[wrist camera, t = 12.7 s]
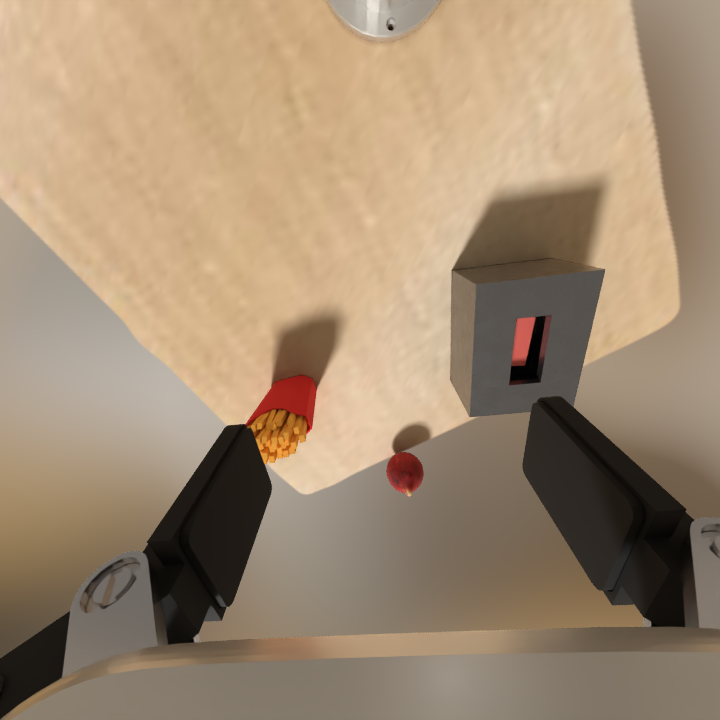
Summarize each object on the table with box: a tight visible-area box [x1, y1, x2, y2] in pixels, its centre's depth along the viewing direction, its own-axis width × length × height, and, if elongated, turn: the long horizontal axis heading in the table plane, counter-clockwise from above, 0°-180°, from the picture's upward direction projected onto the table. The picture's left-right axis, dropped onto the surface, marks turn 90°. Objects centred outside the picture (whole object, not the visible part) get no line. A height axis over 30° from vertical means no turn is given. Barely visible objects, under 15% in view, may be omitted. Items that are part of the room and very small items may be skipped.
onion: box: [387, 452, 424, 496], centre depth 46 cm, size 6×6×8 cm
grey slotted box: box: [450, 258, 605, 417], centre depth 35 cm, size 16×12×9 cm
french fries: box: [245, 375, 317, 464], centre depth 39 cm, size 9×4×13 cm, turn 106°
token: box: [511, 317, 536, 366], centre depth 36 cm, size 6×2×6 cm
